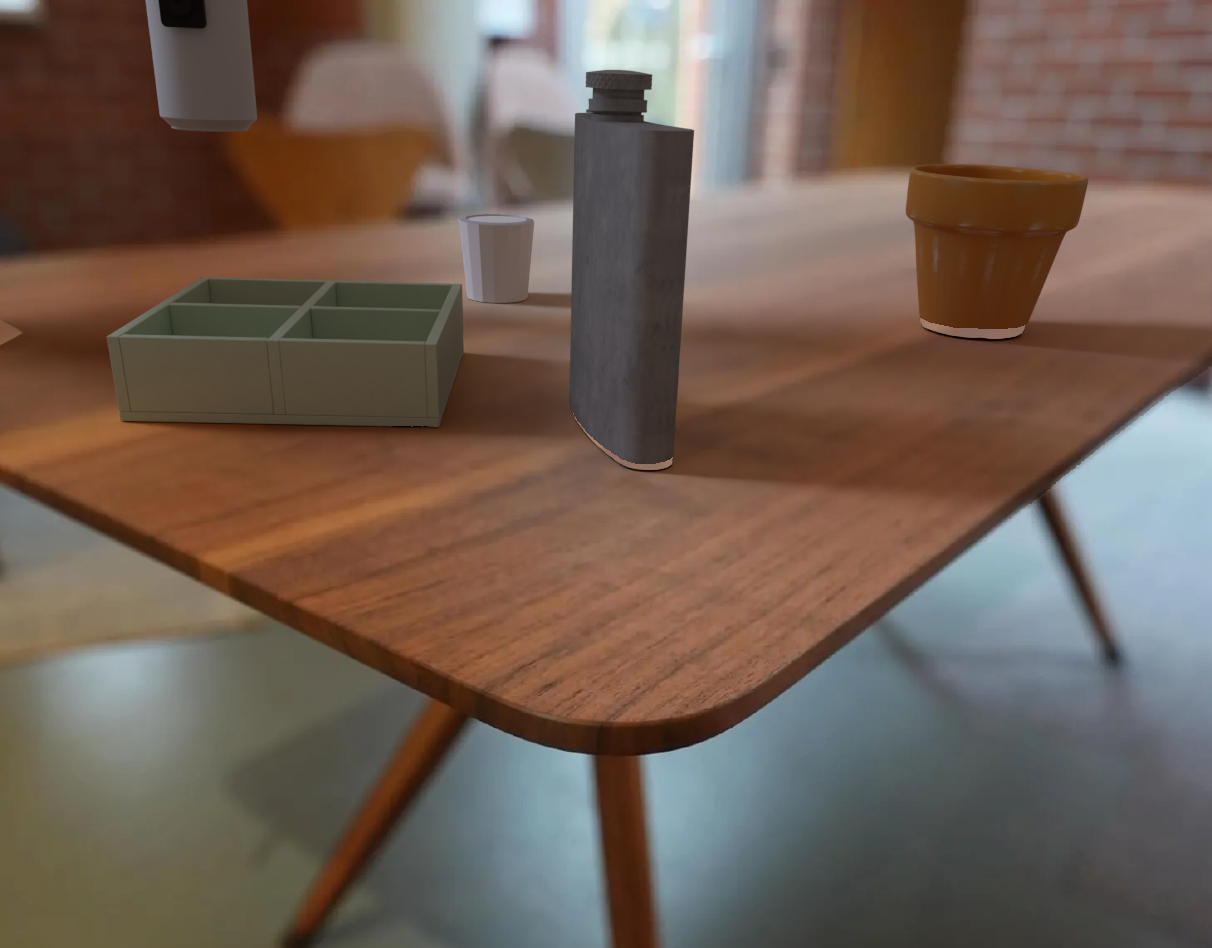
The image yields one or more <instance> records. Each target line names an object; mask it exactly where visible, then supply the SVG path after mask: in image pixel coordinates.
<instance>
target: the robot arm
mask: <svg viewBox="0 0 1212 948" xmlns="http://www.w3.org/2000/svg"><path fill="white" fill-rule="evenodd" d="M158 1H159V9H160V17H161V23H162V24H163V25H164V26H165V27H178V28H201V29H202V28H205V27H206V25H207V21H206V12H205V2H204V0H158Z"/></svg>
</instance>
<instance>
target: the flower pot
mask: <svg viewBox="0 0 1212 948" xmlns="http://www.w3.org/2000/svg"><path fill="white" fill-rule="evenodd" d="M1088 185H1089V178H1088V177H1087V176H1084V175H1081V174H1077V173H1072V172H1067V171H1058V170H1052V169H1051V170H1049V169H1041V168H1029V167H1019V166H1009V165H1008V166H1007V165H994V164H993V165H992V164H969V163H967V164H966V163H964V164H963V163H961V164H960V163H936V164H935V163H934V164H932V163H931V164H921V165H916V166H913V167H911V168H910V170H909V176H908V184H907V192H906V193H907V194H906V202H905V215H906V217H907V218H908V219H909V220H911V221H912V222H913V230H914V242H915V244H914V246H915V248H914V249H915V267H916V268H915V269H916V285H917V302H918V316H920V317H919V319H920V318H922V319H924V320H926V321H928V322H930V323H935V324H939V325H944V326H949V327H953V328H978V329H1008V328H1018V327H1021V326H1024V325H1026V324H1027V323H1029V322H1030V319H1031V317H1032V315H1033V312H1034V310H1035V309H1036V308H1035V307H1036V305H1037V303H1038V300H1039V298H1040V295H1041V293H1042V292H1043V288H1044V286H1045V283H1046V281H1047V279H1048V277H1049V274H1050V272H1051V270H1052V267H1053V264H1054V262H1055V259H1056V257H1057V255H1058V252H1059V250H1060V247H1061V245H1062V243H1063V241H1064V238H1065V236H1066V234H1067V233H1068V232H1070V231H1072V230H1073V229H1075V228H1076V227H1077V226H1078V225H1079V223H1080V218H1081V216H1082V211H1083V207H1084V202H1085V198H1086V194H1087V190H1088ZM1027 325H1028V324H1027Z"/></svg>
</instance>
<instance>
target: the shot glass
mask: <svg viewBox="0 0 1212 948" xmlns="http://www.w3.org/2000/svg"><path fill="white" fill-rule="evenodd" d="M458 225H459V234H460V241H461V242H460V243H461V252H462V261H463V270H464V271H463V272H464V281H465V288H466V296H467V299H469V300H472V301H475V302H480V303H490V304H509V303H518V302H522V301H526V299H528V295H529V287H530V276H531V275H530V273H531V264H532V253H533V242H534V231H535V220H534V219H533V218H529V217H525V216H520V215H513V214H499V213H497V214H495V213H494V214H493V213H491V214H490V213H486V214H473V215H472V214H471V215H465V216H462V217H459V218H458Z"/></svg>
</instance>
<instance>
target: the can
mask: <svg viewBox="0 0 1212 948" xmlns="http://www.w3.org/2000/svg"><path fill="white" fill-rule="evenodd" d="M204 2H205V12H206V21H207V25H206V27H205V28H202V29H201V28H178V27H165V26H164V25H163V24H162V23H161V17H160V9H159V1H158V0H145V7H146V16H147V24H148V32H149V40H150V47H151V48H150V49H151V55H152V63H153V74H154V79H155V80H154V81H155V88H156V95H157V105H158V113H159V117H160V118H161V119H163V121H164V122H166V123H167V124H168V125H169V126H170V127H171V129H173V130H179V131H188V132H210V133H211V132H214V133H216V132H217V133H218V132H219V133H222V132H223V133H229V132H233V133H234V132H246V131H249V129H250V127H251V126H252V125H253V124H254V123H255V122H256V121H258V110H257V99H256V87H255V77H254V67H253V54H252V44H251V33H250V24H249V23H250V22H249V20H250V19H249V8H248V0H204Z"/></svg>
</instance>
